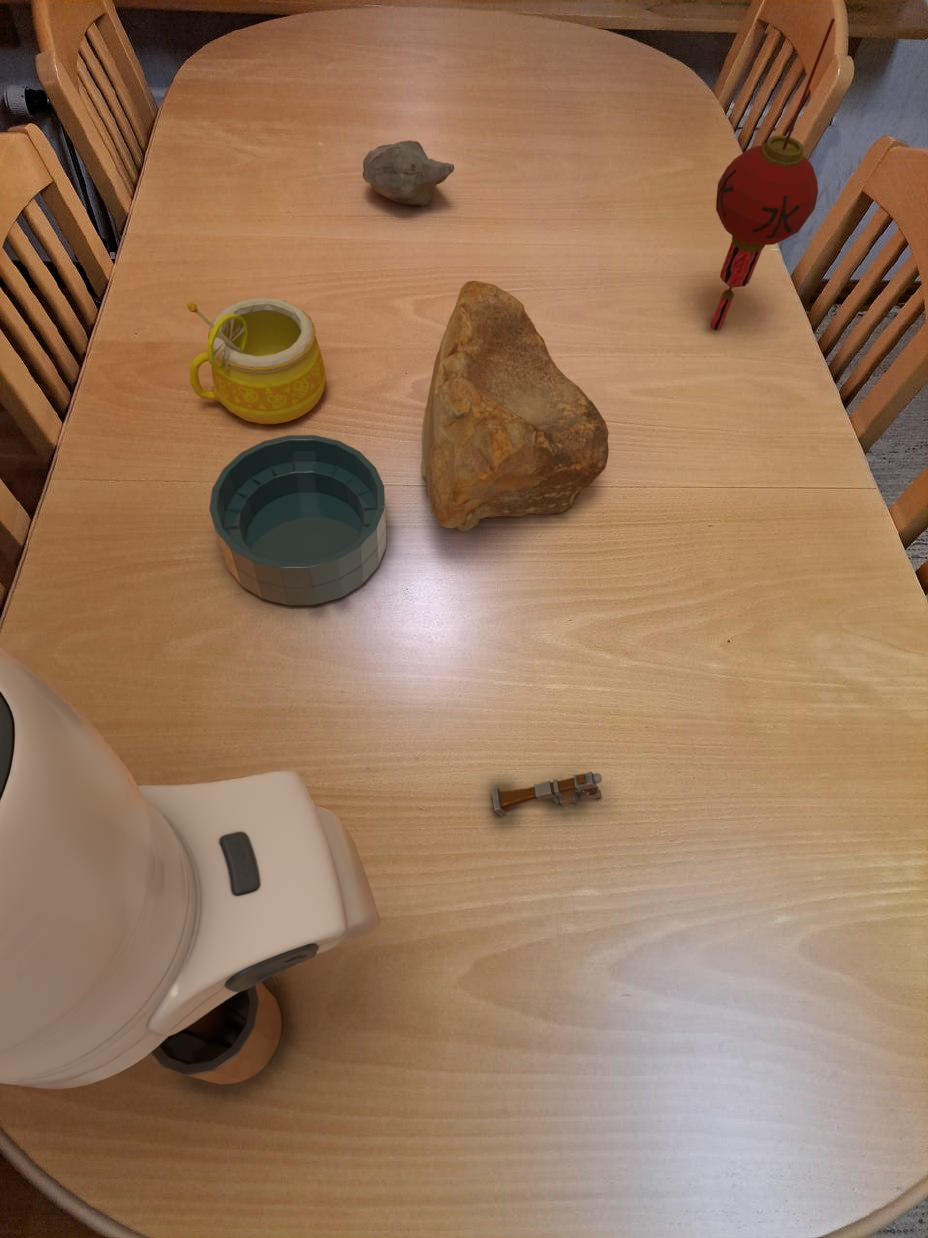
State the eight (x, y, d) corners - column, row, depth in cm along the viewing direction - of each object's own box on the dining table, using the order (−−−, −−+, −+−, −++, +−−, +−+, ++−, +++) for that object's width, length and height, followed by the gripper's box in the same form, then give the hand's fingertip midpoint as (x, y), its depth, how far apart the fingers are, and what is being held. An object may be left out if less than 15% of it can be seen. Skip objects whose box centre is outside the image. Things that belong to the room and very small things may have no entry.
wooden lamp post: (614, 803, 61) (601, 785, 57) (512, 826, 63) (493, 809, 59) (610, 780, 62) (596, 761, 58) (509, 803, 64) (490, 785, 60)
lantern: (680, 353, 89) (789, 43, 64) (668, 297, 94) (764, -11, 69) (766, 356, 90) (907, 50, 65) (749, 300, 95) (873, -5, 70)
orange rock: (591, 593, 73) (647, 476, 61) (405, 568, 72) (423, 443, 59) (585, 412, 86) (629, 285, 74) (427, 387, 85) (445, 254, 72)
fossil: (456, 186, 104) (460, 120, 97) (449, 229, 99) (452, 162, 92) (368, 176, 104) (365, 109, 97) (356, 219, 99) (353, 151, 92)
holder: (197, 1102, 51) (154, 1095, 42) (176, 999, 53) (132, 974, 45) (293, 1061, 52) (270, 1047, 44) (268, 964, 55) (242, 933, 46)
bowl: (246, 629, 68) (233, 588, 63) (208, 503, 75) (193, 457, 70) (408, 582, 72) (408, 539, 67) (358, 465, 78) (354, 419, 73)
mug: (308, 346, 87) (295, 241, 77) (341, 417, 82) (331, 315, 71) (186, 373, 84) (155, 268, 73) (212, 449, 78) (182, 347, 68)
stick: (219, 1053, 51) (139, 1020, 36) (212, 1020, 52) (131, 974, 37) (251, 1040, 52) (186, 1002, 37) (243, 1008, 53) (176, 957, 38)
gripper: (-296, 1182, 23) (-62, 1166, 35) (390, 914, 28) (394, 979, 40) (-283, 960, 26) (-71, 1014, 38) (336, 753, 31) (354, 857, 43)
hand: (171, 994), depth 39 cm, fingers open, 8 cm apart
